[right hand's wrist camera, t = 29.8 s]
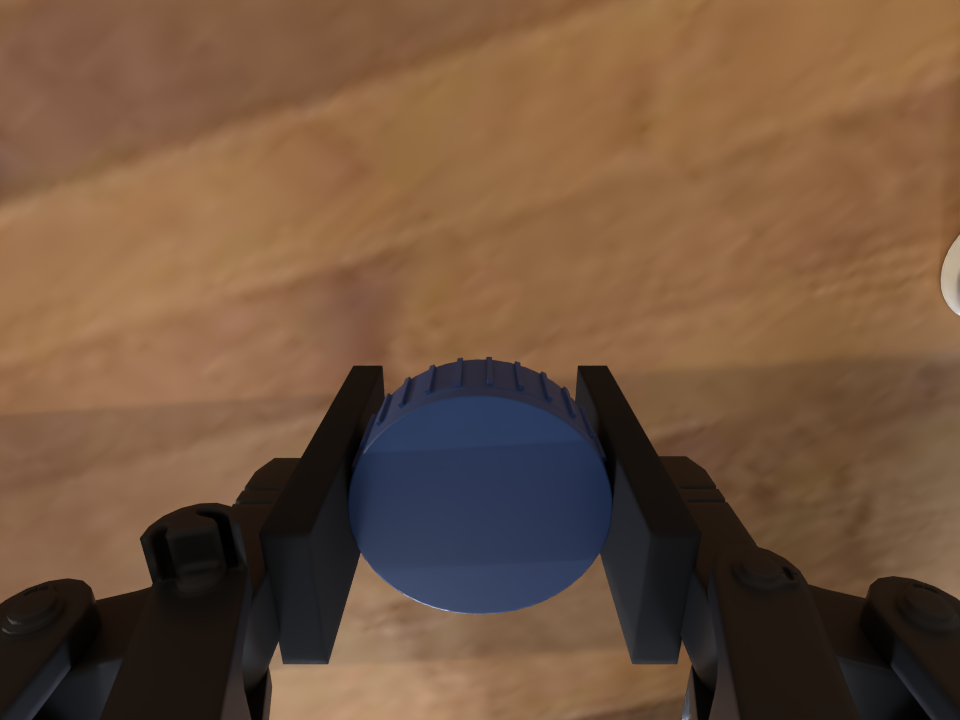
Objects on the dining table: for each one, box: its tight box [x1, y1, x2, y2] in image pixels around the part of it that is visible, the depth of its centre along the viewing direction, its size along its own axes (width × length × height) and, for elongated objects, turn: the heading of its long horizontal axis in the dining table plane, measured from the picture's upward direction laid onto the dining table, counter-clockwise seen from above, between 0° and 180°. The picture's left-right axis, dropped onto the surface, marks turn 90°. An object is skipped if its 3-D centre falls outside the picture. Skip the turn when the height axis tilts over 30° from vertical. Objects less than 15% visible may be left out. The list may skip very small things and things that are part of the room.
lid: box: [348, 357, 613, 614], centre depth 11 cm, size 5×5×2 cm
